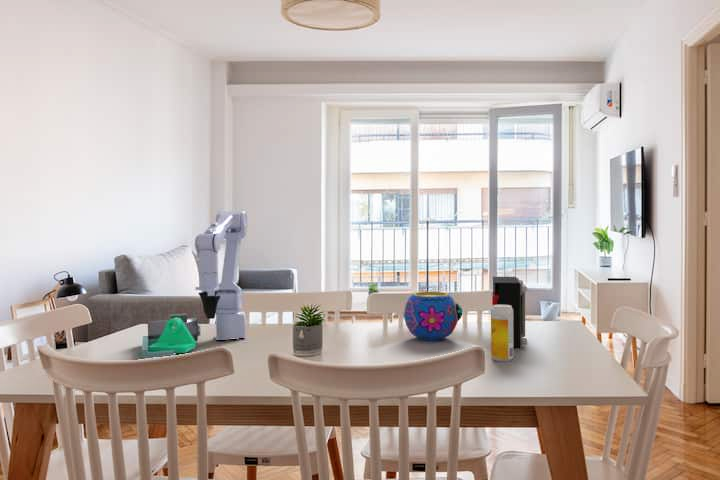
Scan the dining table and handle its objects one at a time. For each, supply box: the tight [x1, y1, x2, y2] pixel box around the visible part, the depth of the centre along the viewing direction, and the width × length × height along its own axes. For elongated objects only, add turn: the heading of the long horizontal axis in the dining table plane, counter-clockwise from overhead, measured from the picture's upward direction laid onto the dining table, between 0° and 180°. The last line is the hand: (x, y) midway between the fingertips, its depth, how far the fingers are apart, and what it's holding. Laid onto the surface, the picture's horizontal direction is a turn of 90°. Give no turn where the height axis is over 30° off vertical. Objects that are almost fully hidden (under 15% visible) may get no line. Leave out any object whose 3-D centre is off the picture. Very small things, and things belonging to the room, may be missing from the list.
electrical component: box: [491, 276, 528, 350], centre depth 178 cm, size 18×10×20 cm, turn 168°
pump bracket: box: [141, 335, 175, 360], centre depth 168 cm, size 8×21×4 cm, turn 20°
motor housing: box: [147, 312, 201, 341], centre depth 182 cm, size 16×8×10 cm, turn 110°
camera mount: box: [148, 317, 197, 354], centre depth 171 cm, size 12×8×10 cm, turn 83°
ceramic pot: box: [403, 291, 463, 342], centre depth 184 cm, size 18×18×15 cm
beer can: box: [490, 304, 514, 362], centre depth 157 cm, size 6×6×15 cm
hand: (209, 316), depth 173 cm, fingers open, 7 cm apart
